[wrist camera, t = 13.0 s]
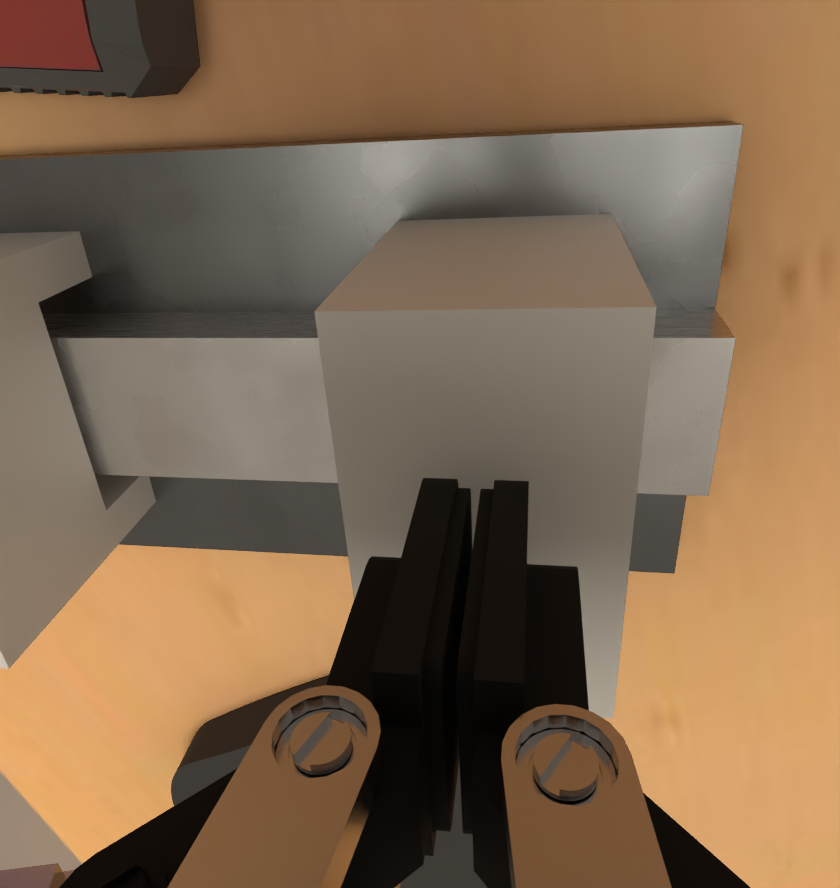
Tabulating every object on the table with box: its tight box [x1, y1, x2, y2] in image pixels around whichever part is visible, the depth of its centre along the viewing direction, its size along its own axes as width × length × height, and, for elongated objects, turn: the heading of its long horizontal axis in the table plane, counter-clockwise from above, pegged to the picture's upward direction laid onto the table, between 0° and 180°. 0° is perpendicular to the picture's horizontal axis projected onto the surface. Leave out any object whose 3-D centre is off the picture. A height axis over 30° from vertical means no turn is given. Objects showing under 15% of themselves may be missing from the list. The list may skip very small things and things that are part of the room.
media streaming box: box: [171, 676, 487, 888], centre depth 28 cm, size 15×15×3 cm
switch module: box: [314, 214, 657, 718], centre depth 15 cm, size 9×5×8 cm, turn 4°
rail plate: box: [0, 121, 743, 573], centre depth 19 cm, size 12×22×3 cm, turn 93°
